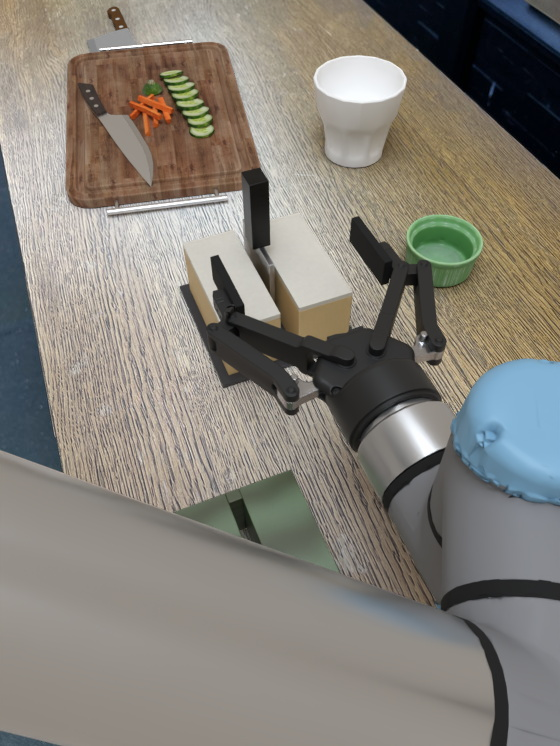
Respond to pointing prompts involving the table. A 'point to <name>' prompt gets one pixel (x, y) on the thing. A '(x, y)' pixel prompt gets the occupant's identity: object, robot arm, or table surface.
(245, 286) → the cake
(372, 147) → the cup
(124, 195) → the chopping board
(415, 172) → the table surface
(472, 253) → the ramekin
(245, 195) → the black-handled knife
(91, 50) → the kitchen cleaver
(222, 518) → the knife block
